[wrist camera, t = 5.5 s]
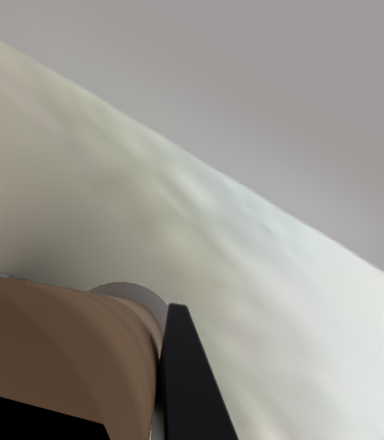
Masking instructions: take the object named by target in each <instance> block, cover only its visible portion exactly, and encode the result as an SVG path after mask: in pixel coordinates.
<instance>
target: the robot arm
mask: <svg viewBox="0 0 384 440" xmlns="http://www.w3.org/2000/svg"><path fill="white" fill-rule="evenodd" d="M9 278H10V279H16V280H21V281H26V280H25V279H19V278H12V277H9ZM151 440H239V439H238V436H237V433H236V431H235V428H234V426H233V423H232V421H231V418H230V415H229V413H228V410H227V408H226V405H225V403H224V400H223V397H222V395H221V392H220V390H219V387H218V384H217V382H216V379H215V377H214V374H213V372H212V369H211V366H210V364H209V361H208V359H207V356H206V353H205V351H204V348H203V346H202V343H201V341H200V338H199V335H198V333H197V330H196V328H195V325H194V322H193V320H192V317H191V315H190V312H189V310H188V307H187V306H186V305H183V304H177V303H170V304H169V306H168V312H167V317H166V323H165V329H164V335H163V341H162V348H161V354H160V360H159V366H158V381H157V390H156V397H155V404H154V410H153V417H152V429H151Z"/></svg>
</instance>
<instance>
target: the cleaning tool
mask: <svg viewBox="0 0 384 440" xmlns="http://www.w3.org/2000/svg"><path fill="white" fill-rule="evenodd" d="M167 312H168V306H167V304H166V303H165V302H164V301H163V300H162V299H161V298H160V297H159V296H158V295H156V294H155V293H154V292H152V291H151V290H149V289H147V288H145V287H143V286H140V285H137V284H133V283H126V282H115V283H109V284H105V285H101V286H99V287H96V288H94V289H92V290H90V291H89V292H84V291H78V290H72V289H67V288H61V287H55V286H50V285H44V284H38V283H33V282H27V281H21V280H16V279H10V278H4V277H0V440H149V437H150V430H151V424H152V417H153V410H154V404H155V397H156V390H157V381H158V366H159V360H160V354H161V348H162V341H163V335H164V329H165V323H166V317H167Z"/></svg>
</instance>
